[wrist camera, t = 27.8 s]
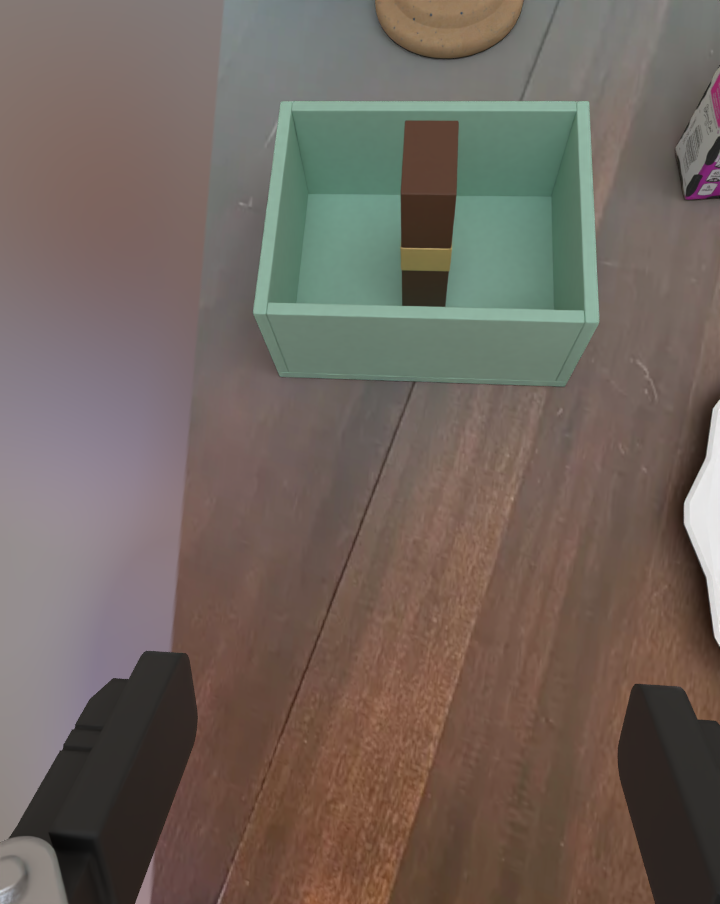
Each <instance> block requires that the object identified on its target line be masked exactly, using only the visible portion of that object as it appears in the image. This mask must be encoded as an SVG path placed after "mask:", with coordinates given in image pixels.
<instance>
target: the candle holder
mask: <svg viewBox="0 0 720 904" xmlns="http://www.w3.org/2000/svg"><path fill="white" fill-rule="evenodd" d="M375 4H376V12H377V16H378V19H379V22H380V24H381V26H382V28H383V29H384V31H385V32H386V33H387V34H388V36H389V37H390V38H391V39H392V40H394V41H395V42H396V43H397V44H398V45H400V46H402V47H403V48H405V49H407V50H409V51H411V52H414V53H416V54H420V55H423V56H427V57H434V58H458V57H464V56H469V55H473V54H476V53H478V52H481V51H484V50H486V49H488V48H490V47H492V46H493V45H495V44H496V43H498V42H499V41H500V40H502V39H503V38H504V37H505V36H506V35H507V34H508V33H509V32H510V31H511V29H512V28H513V27H514V25H515V24H516V21H517V19H518V17H519V15H520V13H521V9H522V5H523V0H375Z"/></svg>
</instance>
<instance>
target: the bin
mask: <svg viewBox="0 0 720 904" xmlns="http://www.w3.org/2000/svg"><path fill="white" fill-rule="evenodd" d="M406 120H432V121H458V122H459V133H458V167H457V196H456V206H455V216H454V226H453V236H452V255H451V264H450V271H449V276H448V286H447V296H446V306H445V307H427V306H402V270H401V252H400V247H401V196H400V193H401V177H402V160H403V143H404V127H405V121H406ZM253 315H254V317H255V319H256V322H257V324H258V326H259V329H260V331H261V333H262V336H263V338H264V341H265V343H266V345H267V348H268V350H269V352H270V355H271V357H272V359H273V362H274V364H275V366H276V369H277V371H278V374H279V376H280V377H301V378H330V379H359V380H388V381H417V382H446V383H475V384H504V385H533V386H562V387H564V386H565V385H566V384H567V381H568V380H569V378H570V376H571V374H572V372H573V371H574V369H575V367H576V365H577V363H578V361H579V359H580V358H581V356H582V354H583V352H584V350H585V348H586V346H587V345H588V343H589V341H590V339H591V337H592V335H593V333H594V331H595V330H596V328H597V326H598V324H599V304H598V282H597V260H596V239H595V217H594V196H593V174H592V153H591V131H590V110H589V102H588V101H578V102H576V101H293V103H292V102H281V103H280V111H279V118H278V126H277V133H276V141H275V149H274V156H273V164H272V172H271V179H270V187H269V194H268V202H267V210H266V217H265V225H264V232H263V240H262V248H261V255H260V263H259V271H258V278H257V286H256V293H255V301H254V309H253Z"/></svg>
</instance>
